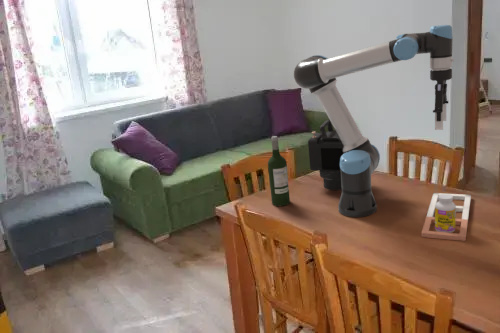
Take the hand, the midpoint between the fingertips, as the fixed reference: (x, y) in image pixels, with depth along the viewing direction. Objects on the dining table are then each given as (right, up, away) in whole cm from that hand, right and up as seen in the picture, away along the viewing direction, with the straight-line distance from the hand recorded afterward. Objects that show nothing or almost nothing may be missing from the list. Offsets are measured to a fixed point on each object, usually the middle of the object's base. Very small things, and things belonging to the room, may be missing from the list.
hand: (440, 124), depth 185 cm
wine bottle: (-59, -32, +28) cm, 73 cm away
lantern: (-34, -25, +41) cm, 58 cm away
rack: (+1, -34, -3) cm, 35 cm away
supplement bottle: (-4, -38, -14) cm, 41 cm away
